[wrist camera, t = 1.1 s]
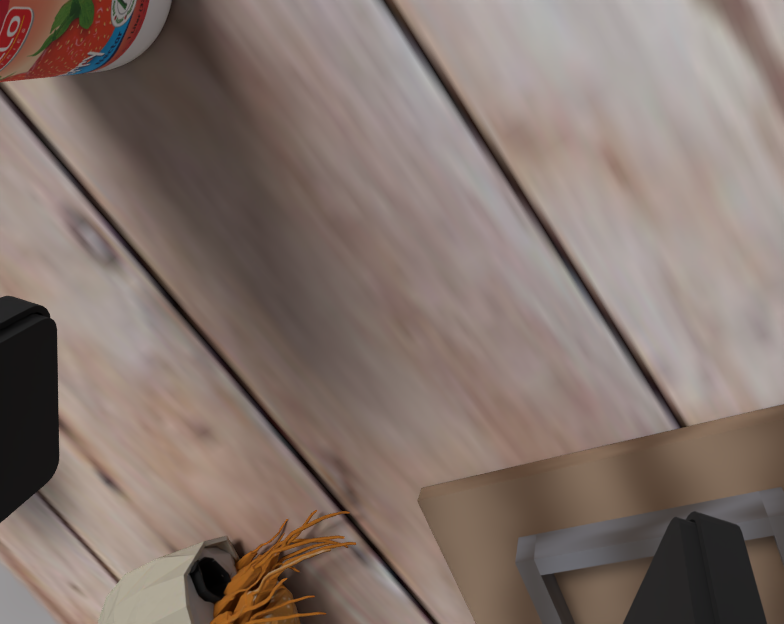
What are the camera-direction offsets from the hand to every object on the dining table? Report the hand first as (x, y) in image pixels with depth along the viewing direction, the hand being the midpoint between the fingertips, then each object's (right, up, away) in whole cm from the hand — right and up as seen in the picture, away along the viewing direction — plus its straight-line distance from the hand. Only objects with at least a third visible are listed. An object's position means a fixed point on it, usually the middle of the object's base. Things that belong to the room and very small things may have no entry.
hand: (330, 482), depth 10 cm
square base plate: (+16, -13, +28) cm, 35 cm away
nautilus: (-7, -16, +36) cm, 40 cm away
